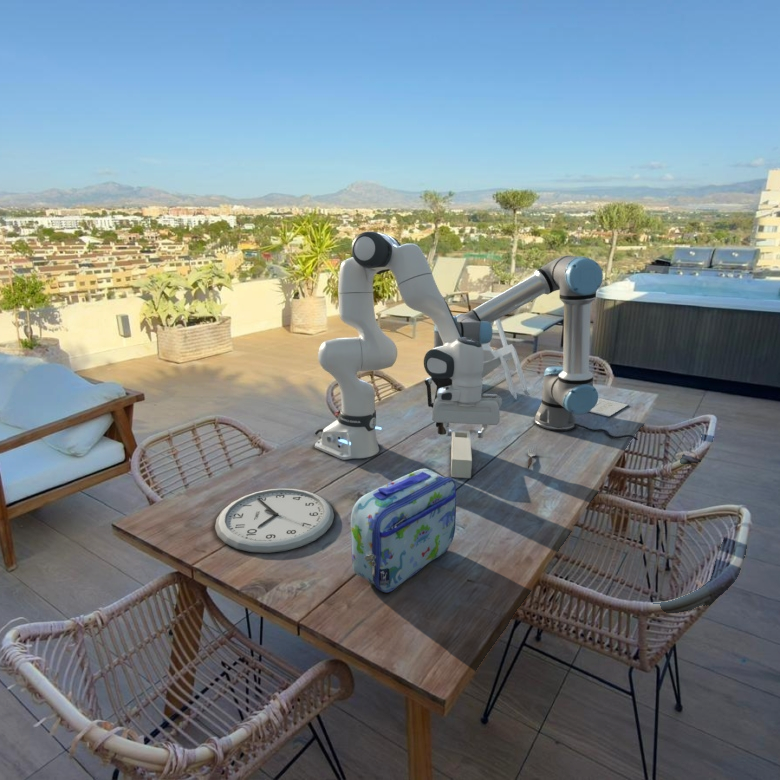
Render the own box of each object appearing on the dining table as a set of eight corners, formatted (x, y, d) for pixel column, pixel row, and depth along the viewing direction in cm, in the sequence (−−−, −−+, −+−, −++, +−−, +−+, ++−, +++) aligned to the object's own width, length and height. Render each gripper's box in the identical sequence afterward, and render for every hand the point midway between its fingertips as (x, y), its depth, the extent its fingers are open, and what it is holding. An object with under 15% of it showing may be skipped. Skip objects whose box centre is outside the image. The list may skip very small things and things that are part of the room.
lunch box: (379, 605, 105) (380, 513, 99) (344, 580, 112) (343, 493, 106) (459, 552, 123) (464, 471, 116) (425, 533, 130) (428, 456, 124)
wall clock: (332, 544, 122) (200, 548, 120) (332, 550, 123) (201, 555, 120) (334, 484, 151) (228, 486, 148) (334, 489, 151) (228, 491, 149)
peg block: (468, 447, 182) (469, 431, 181) (470, 478, 160) (471, 460, 158) (451, 446, 183) (452, 430, 181) (450, 477, 160) (452, 459, 158)
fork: (523, 469, 166) (524, 463, 165) (529, 450, 180) (529, 445, 179) (532, 470, 165) (532, 464, 164) (536, 451, 179) (537, 446, 179)
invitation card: (608, 416, 214) (573, 407, 224) (608, 416, 214) (573, 408, 224) (628, 404, 229) (594, 396, 238) (628, 405, 229) (594, 397, 238)
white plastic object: (461, 429, 252) (437, 405, 227) (444, 352, 274) (420, 323, 250) (535, 404, 240) (518, 377, 215) (510, 326, 262) (492, 293, 237)
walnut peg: (446, 431, 188) (447, 394, 183) (446, 434, 185) (447, 397, 181) (438, 431, 188) (439, 394, 184) (437, 434, 185) (438, 397, 181)
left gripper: (501, 391, 157) (498, 434, 161) (433, 388, 159) (431, 431, 163) (503, 397, 151) (500, 442, 155) (432, 394, 153) (430, 438, 157)
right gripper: (467, 359, 181) (464, 422, 188) (421, 358, 183) (420, 420, 190) (468, 364, 174) (465, 430, 181) (420, 363, 176) (419, 428, 183)
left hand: (464, 436), depth 159 cm, fingers open, 8 cm apart
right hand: (442, 425), depth 185 cm, fingers closed on walnut peg, 3 cm apart
